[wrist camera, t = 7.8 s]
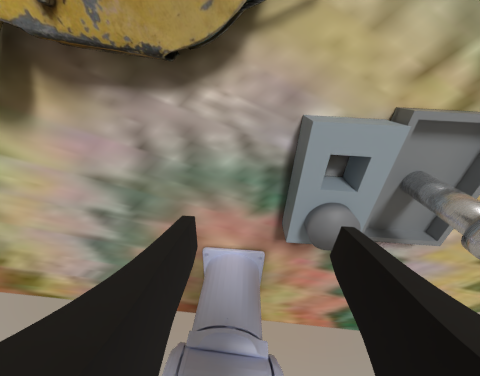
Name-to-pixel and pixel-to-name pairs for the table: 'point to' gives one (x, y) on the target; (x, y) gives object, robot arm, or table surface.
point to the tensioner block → (338, 188)
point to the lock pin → (447, 206)
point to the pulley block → (126, 23)
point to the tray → (434, 163)
